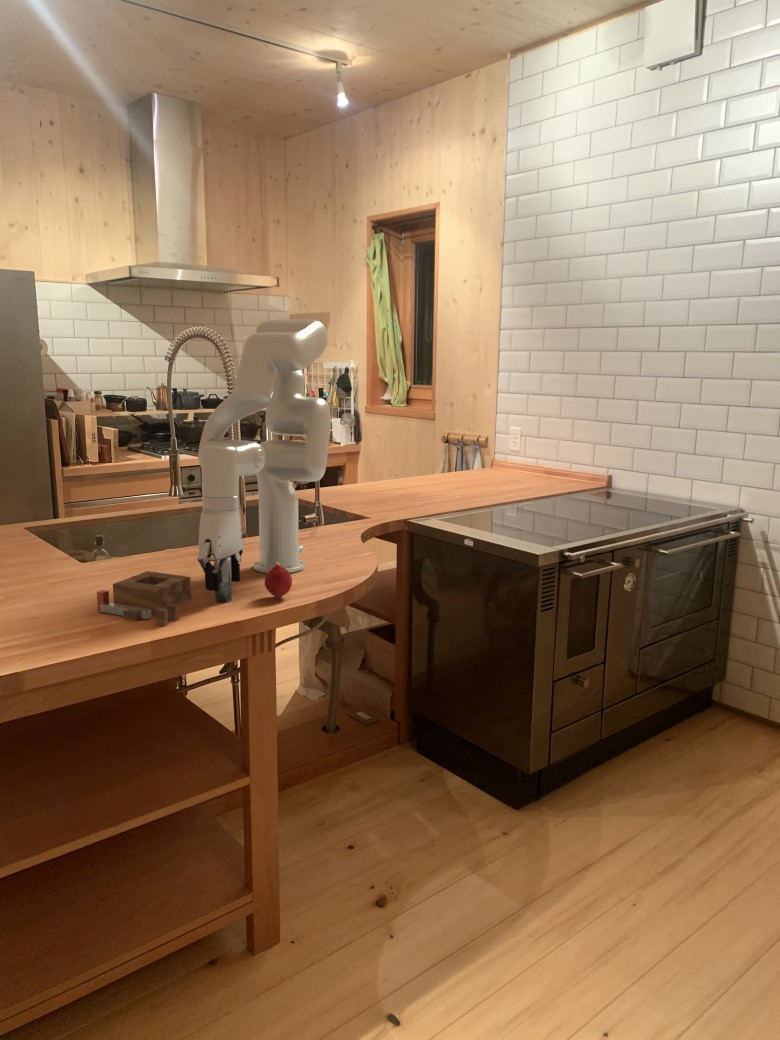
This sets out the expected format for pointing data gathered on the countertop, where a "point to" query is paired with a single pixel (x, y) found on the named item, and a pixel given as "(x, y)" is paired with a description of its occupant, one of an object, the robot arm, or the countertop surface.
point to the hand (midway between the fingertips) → (223, 585)
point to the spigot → (224, 581)
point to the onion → (278, 581)
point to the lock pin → (118, 606)
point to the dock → (153, 595)
